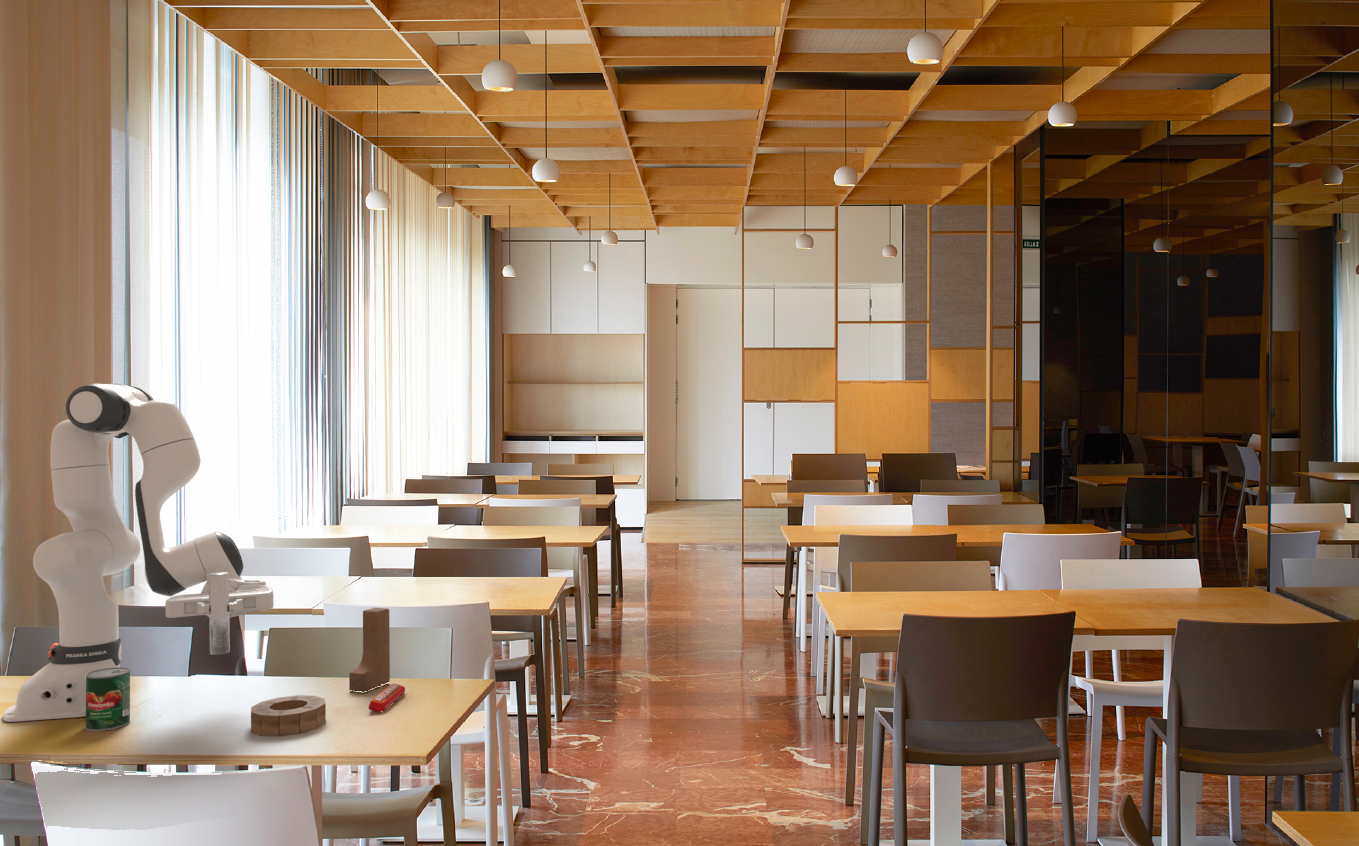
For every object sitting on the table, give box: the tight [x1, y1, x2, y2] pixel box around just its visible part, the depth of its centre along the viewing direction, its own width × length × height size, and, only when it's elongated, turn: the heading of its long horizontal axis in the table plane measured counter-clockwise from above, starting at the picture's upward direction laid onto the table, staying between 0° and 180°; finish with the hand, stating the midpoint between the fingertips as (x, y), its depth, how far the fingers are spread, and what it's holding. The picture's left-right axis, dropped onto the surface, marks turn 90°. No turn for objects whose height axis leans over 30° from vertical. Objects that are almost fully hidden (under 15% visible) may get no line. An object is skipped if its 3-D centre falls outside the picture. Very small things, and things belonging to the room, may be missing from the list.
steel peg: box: [208, 572, 231, 656], centre depth 187 cm, size 4×4×16 cm
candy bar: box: [368, 683, 406, 713], centre depth 204 cm, size 16×4×3 cm, turn 178°
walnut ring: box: [250, 694, 327, 737], centre depth 189 cm, size 14×14×4 cm
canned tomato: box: [84, 666, 131, 732], centre depth 190 cm, size 8×8×11 cm
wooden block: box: [348, 607, 391, 692], centre depth 217 cm, size 9×4×18 cm, turn 157°
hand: (219, 608), depth 186 cm, fingers closed on steel peg, 4 cm apart
